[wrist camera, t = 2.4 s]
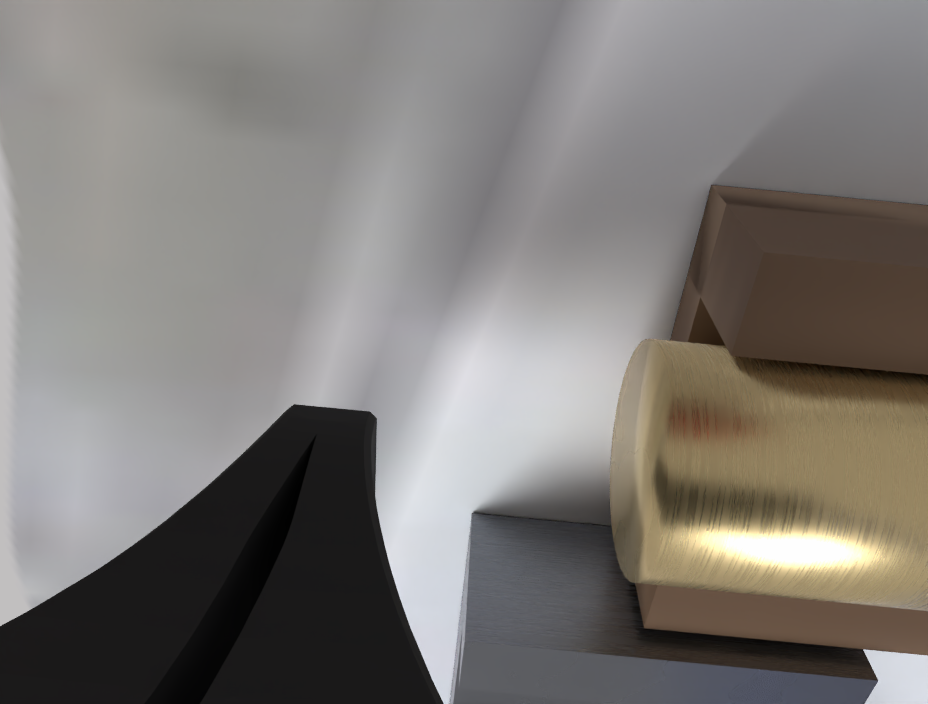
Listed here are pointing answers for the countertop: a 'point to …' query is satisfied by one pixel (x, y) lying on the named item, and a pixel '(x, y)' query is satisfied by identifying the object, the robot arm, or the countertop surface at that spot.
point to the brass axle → (771, 477)
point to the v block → (611, 634)
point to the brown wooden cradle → (806, 341)
